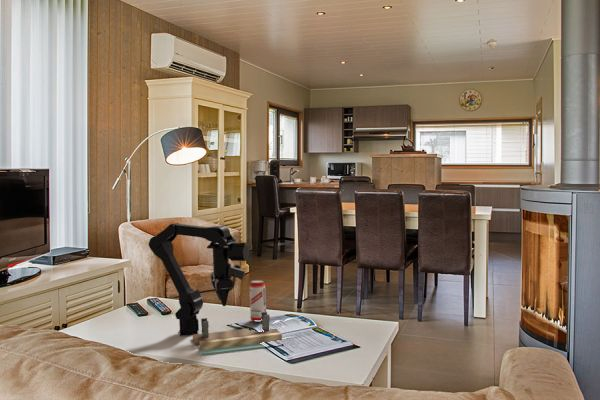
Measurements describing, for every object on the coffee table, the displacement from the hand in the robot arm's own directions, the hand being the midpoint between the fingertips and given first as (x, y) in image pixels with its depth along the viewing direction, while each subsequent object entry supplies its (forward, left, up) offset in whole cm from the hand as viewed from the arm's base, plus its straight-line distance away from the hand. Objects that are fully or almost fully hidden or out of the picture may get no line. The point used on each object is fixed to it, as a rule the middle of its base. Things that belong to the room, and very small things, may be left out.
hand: (222, 303), depth 194 cm
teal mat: (+4, -14, -12) cm, 19 cm away
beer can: (+16, +14, -12) cm, 25 cm away
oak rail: (+4, -14, -11) cm, 19 cm away
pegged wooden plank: (+4, -4, -10) cm, 12 cm away
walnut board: (+4, -4, -12) cm, 13 cm away
